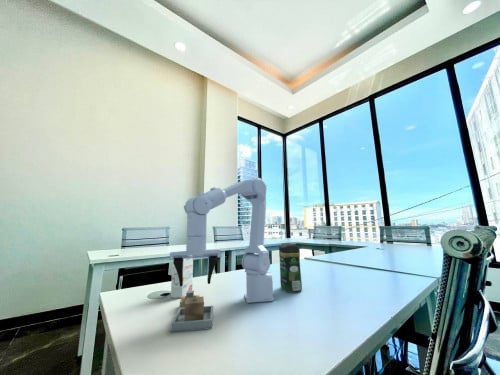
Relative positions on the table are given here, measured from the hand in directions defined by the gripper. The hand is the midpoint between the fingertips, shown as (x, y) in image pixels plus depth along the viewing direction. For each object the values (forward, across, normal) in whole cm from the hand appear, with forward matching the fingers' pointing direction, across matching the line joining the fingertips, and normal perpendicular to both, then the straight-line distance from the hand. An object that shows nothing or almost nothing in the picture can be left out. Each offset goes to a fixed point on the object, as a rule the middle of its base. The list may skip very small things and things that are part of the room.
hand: (195, 284), depth 60 cm
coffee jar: (+10, -38, -19) cm, 44 cm away
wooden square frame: (+10, +2, -11) cm, 15 cm away
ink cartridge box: (+10, +5, -26) cm, 28 cm away
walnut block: (+9, 0, 0) cm, 9 cm away
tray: (+10, 0, 0) cm, 10 cm away
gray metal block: (+10, +2, -10) cm, 14 cm away
